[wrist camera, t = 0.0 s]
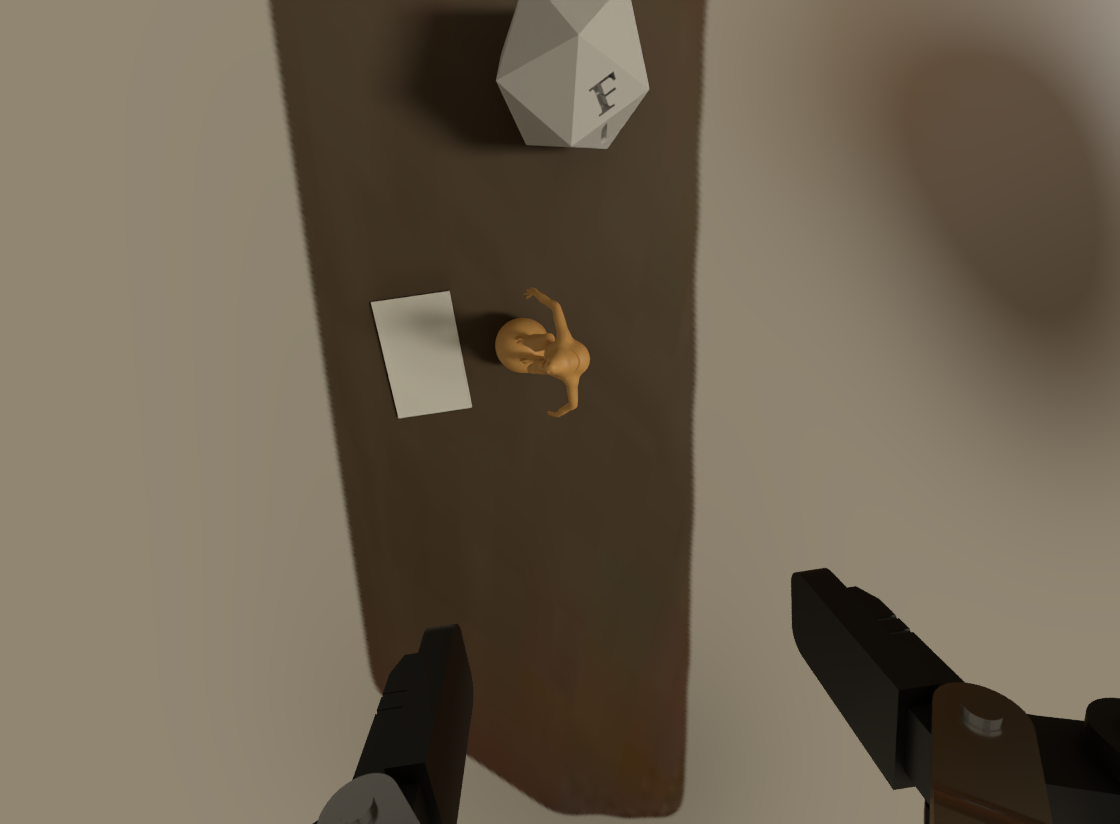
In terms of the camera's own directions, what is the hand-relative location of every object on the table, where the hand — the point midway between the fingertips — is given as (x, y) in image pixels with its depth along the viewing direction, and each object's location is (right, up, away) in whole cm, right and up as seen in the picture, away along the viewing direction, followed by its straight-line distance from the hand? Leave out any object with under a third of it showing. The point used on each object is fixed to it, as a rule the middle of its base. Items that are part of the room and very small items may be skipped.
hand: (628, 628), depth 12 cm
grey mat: (-12, +9, +27) cm, 31 cm away
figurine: (-3, +11, +27) cm, 30 cm away
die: (-1, +27, +23) cm, 35 cm away
